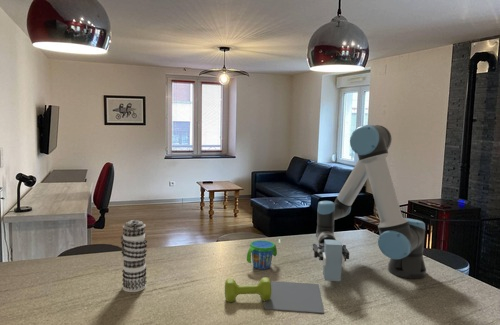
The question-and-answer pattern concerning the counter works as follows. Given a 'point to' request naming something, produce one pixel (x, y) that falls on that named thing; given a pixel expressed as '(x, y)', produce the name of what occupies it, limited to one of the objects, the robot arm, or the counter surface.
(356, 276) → the counter surface
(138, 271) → the patterned white cylinder
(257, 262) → the snack cup
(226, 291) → the dumbbell
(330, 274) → the block
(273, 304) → the mat
